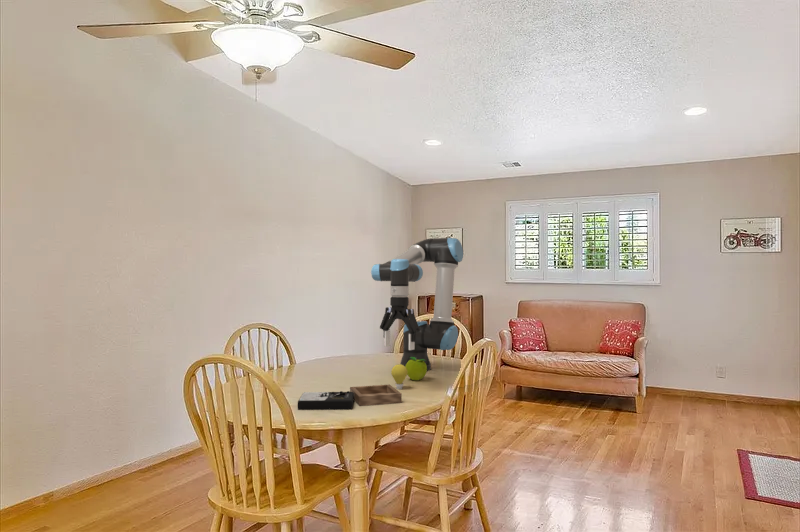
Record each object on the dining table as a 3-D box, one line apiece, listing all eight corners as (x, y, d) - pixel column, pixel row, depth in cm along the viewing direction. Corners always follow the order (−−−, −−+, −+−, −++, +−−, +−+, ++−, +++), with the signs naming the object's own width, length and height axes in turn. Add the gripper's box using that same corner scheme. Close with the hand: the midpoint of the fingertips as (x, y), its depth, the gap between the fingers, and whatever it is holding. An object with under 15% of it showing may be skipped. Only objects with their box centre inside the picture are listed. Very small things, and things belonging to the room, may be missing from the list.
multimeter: (352, 410, 190) (352, 396, 190) (297, 411, 189) (297, 397, 189) (354, 401, 203) (354, 388, 203) (302, 401, 202) (302, 388, 202)
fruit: (415, 376, 246) (415, 354, 246) (430, 380, 239) (430, 357, 239) (401, 379, 239) (401, 357, 239) (416, 383, 233) (416, 360, 233)
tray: (389, 392, 215) (389, 384, 215) (401, 402, 199) (401, 393, 199) (350, 395, 210) (350, 387, 210) (359, 406, 195) (359, 396, 195)
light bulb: (390, 386, 225) (390, 363, 225) (406, 386, 226) (406, 362, 226) (391, 390, 219) (391, 366, 219) (408, 390, 219) (408, 365, 219)
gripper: (371, 295, 228) (371, 345, 228) (416, 298, 211) (416, 352, 211) (384, 295, 233) (383, 344, 233) (428, 297, 216) (428, 350, 216)
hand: (399, 348), depth 222 cm, fingers open, 13 cm apart
